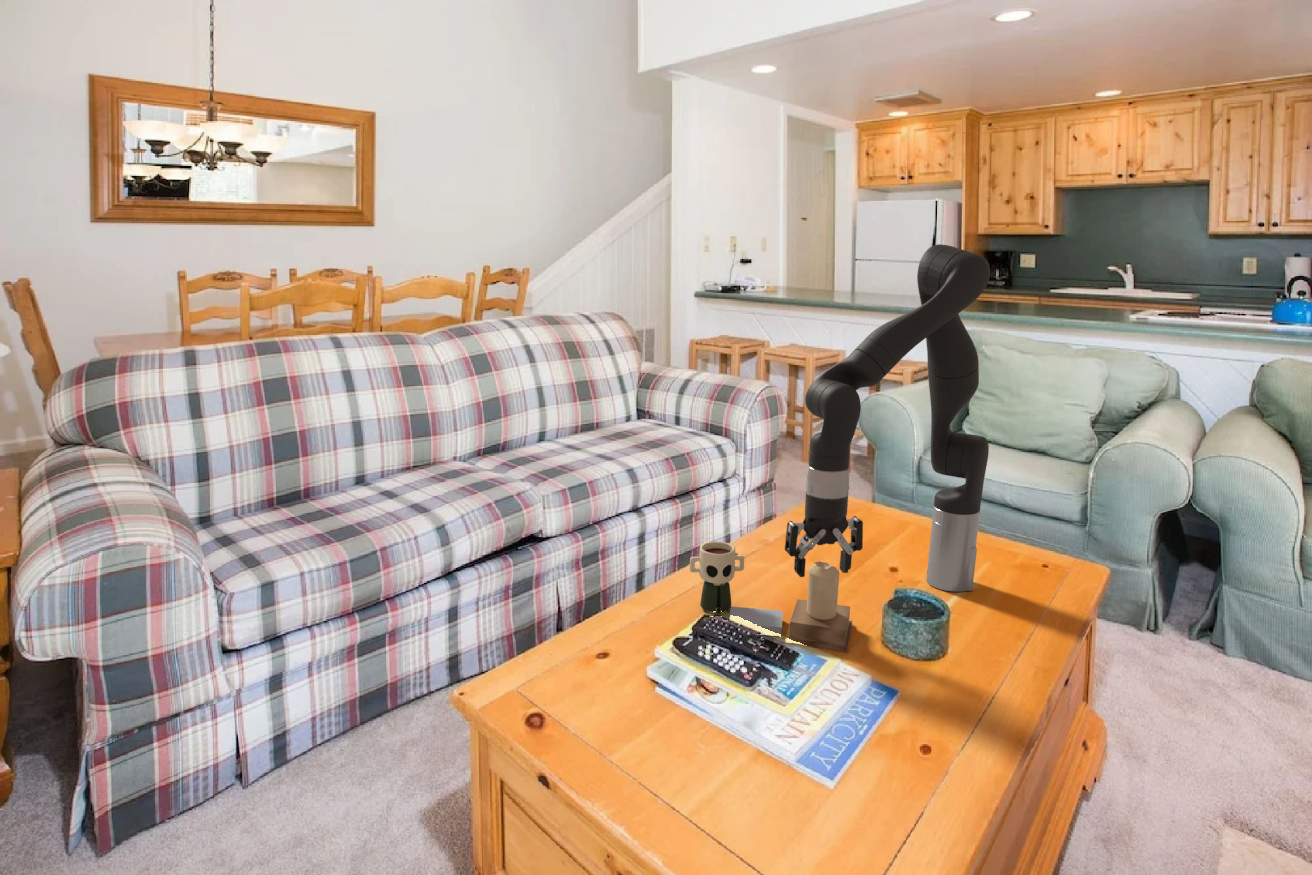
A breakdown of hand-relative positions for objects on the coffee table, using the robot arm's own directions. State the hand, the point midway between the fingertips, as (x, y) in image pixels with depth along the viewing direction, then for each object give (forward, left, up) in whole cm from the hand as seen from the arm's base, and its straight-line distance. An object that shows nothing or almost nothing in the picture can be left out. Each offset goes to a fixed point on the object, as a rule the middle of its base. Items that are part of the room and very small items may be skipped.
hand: (822, 573), depth 149 cm
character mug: (+21, -4, -12) cm, 24 cm away
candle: (0, 0, -8) cm, 8 cm away
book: (+12, +1, -12) cm, 17 cm away
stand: (0, 0, -12) cm, 12 cm away
